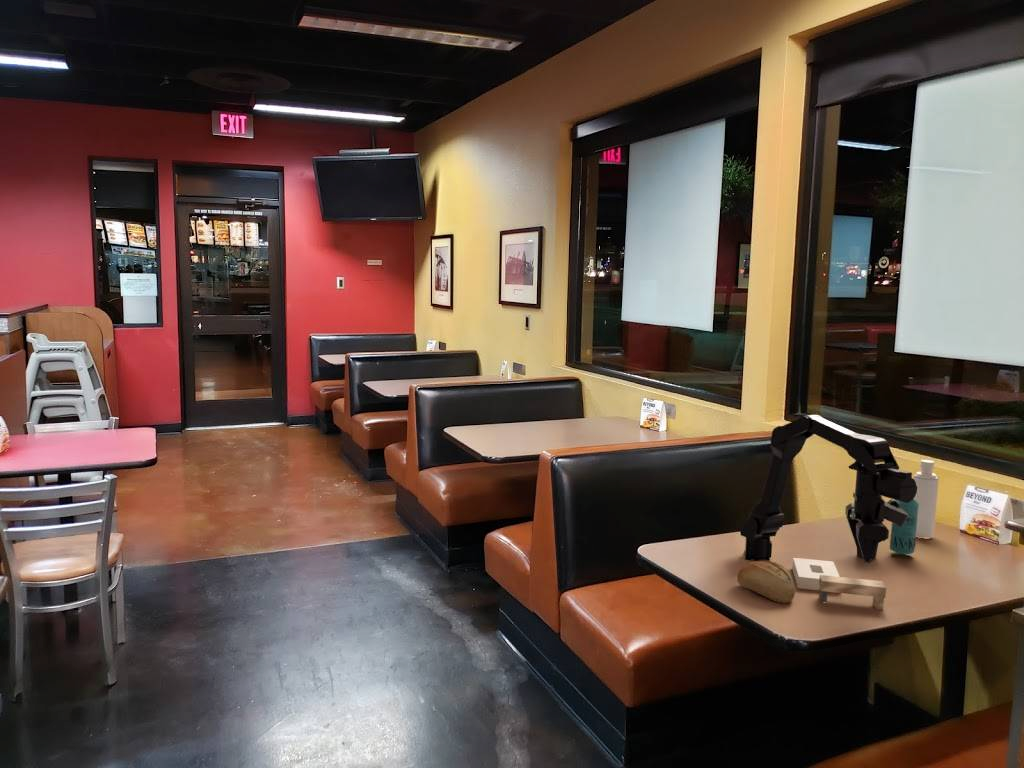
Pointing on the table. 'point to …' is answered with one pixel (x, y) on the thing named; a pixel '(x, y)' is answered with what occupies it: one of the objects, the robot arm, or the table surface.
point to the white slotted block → (812, 572)
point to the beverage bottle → (905, 529)
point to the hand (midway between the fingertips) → (863, 555)
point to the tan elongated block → (853, 588)
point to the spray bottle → (926, 498)
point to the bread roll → (768, 580)
